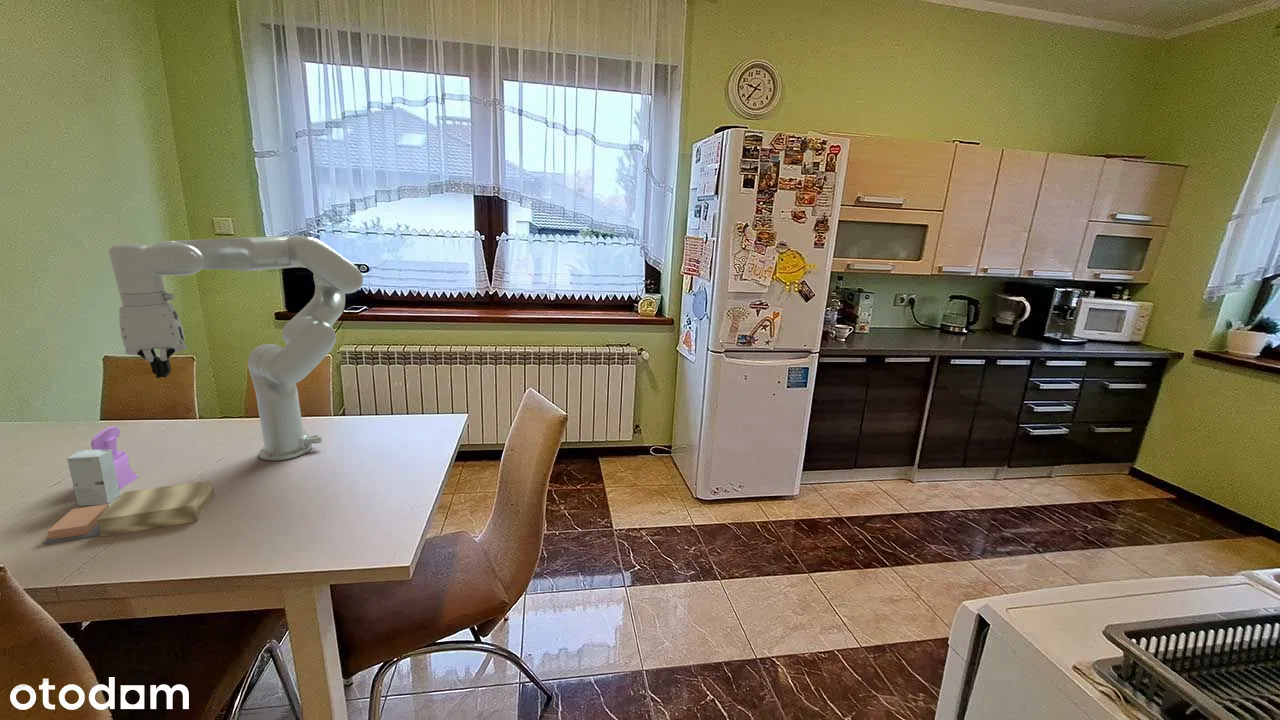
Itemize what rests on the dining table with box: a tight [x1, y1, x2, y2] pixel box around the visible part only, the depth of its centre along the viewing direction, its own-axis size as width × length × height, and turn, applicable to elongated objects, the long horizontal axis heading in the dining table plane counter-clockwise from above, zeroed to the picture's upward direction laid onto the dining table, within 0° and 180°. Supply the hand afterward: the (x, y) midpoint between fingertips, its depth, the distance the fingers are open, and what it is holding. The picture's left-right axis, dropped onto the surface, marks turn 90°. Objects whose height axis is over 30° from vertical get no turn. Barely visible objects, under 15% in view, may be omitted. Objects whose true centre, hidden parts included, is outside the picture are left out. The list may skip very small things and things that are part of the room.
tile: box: [47, 503, 110, 540], centre depth 111 cm, size 6×9×2 cm, turn 24°
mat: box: [43, 525, 101, 545], centre depth 111 cm, size 9×11×1 cm
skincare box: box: [66, 449, 121, 507], centre depth 119 cm, size 6×4×12 cm
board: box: [97, 480, 215, 537], centre depth 116 cm, size 16×12×4 cm
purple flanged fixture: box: [90, 425, 139, 490], centre depth 126 cm, size 8×9×15 cm
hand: (163, 375), depth 123 cm, fingers closed
